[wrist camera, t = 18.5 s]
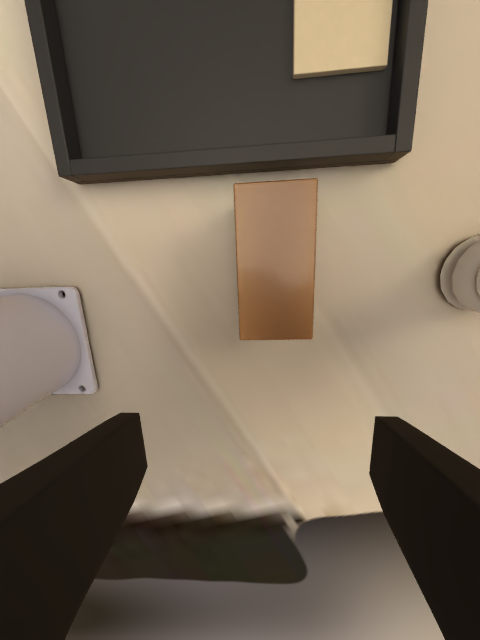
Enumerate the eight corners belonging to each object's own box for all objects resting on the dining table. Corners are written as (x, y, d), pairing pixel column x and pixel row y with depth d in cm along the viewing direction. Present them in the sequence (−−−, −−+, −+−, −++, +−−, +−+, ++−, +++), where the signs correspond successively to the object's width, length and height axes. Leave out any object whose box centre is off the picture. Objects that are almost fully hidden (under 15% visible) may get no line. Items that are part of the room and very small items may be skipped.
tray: (79, 184, 16) (58, 176, 14) (29, -95, 13) (-5, -146, 11) (394, 162, 14) (411, 151, 13) (426, -164, 11) (455, -237, 9)
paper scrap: (292, 79, 13) (293, 74, 13) (293, -35, 12) (294, -45, 12) (383, 70, 13) (387, 64, 12) (393, -49, 12) (398, -59, 11)
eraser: (245, 318, 17) (239, 340, 13) (240, 202, 15) (233, 183, 11) (299, 317, 17) (312, 339, 13) (302, 199, 15) (318, 177, 11)
